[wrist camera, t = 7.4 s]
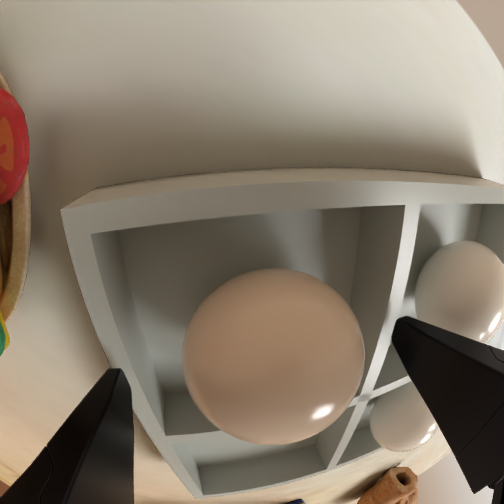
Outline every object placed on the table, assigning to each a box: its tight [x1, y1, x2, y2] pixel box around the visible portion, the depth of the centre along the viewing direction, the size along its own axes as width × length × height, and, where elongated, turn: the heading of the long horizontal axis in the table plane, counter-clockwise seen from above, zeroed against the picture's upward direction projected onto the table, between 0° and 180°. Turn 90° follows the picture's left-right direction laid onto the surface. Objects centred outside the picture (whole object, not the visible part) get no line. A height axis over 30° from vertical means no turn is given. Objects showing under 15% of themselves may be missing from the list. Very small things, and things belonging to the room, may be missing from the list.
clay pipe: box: [357, 467, 418, 504], centre depth 30 cm, size 19×11×15 cm
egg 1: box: [370, 381, 439, 452], centre depth 13 cm, size 5×5×5 cm
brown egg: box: [182, 268, 365, 445], centre depth 8 cm, size 5×5×5 cm
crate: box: [60, 167, 504, 498], centre depth 12 cm, size 19×19×3 cm
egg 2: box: [414, 240, 504, 343], centre depth 10 cm, size 5×5×5 cm
